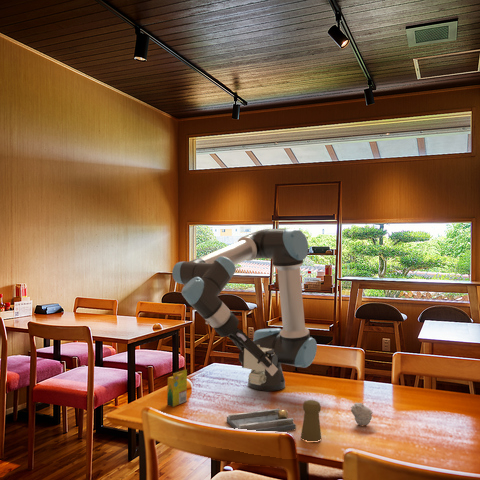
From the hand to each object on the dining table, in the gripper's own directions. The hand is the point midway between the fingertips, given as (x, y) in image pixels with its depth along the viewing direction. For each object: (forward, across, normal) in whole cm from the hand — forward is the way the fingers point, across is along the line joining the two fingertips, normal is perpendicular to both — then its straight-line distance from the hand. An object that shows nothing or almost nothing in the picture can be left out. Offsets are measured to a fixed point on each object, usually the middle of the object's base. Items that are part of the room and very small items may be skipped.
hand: (267, 368), depth 143 cm
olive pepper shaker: (+19, +14, -7) cm, 24 cm away
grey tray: (+11, 0, -14) cm, 18 cm away
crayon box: (-3, -28, -28) cm, 40 cm away
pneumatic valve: (+1, 0, -6) cm, 6 cm away
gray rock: (+33, +10, +8) cm, 36 cm away
